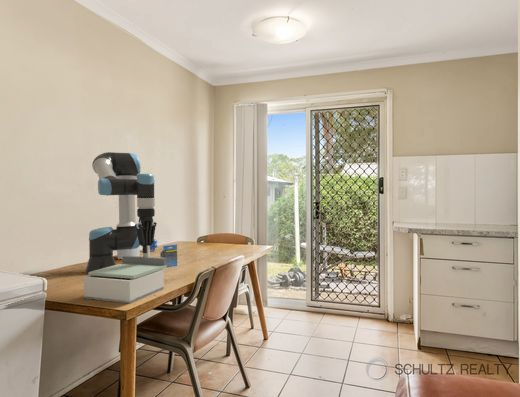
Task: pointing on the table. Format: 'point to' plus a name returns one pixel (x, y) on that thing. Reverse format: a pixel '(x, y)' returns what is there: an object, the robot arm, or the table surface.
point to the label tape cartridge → (170, 255)
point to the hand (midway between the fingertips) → (146, 260)
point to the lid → (132, 267)
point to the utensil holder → (128, 252)
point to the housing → (123, 287)
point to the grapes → (153, 245)
